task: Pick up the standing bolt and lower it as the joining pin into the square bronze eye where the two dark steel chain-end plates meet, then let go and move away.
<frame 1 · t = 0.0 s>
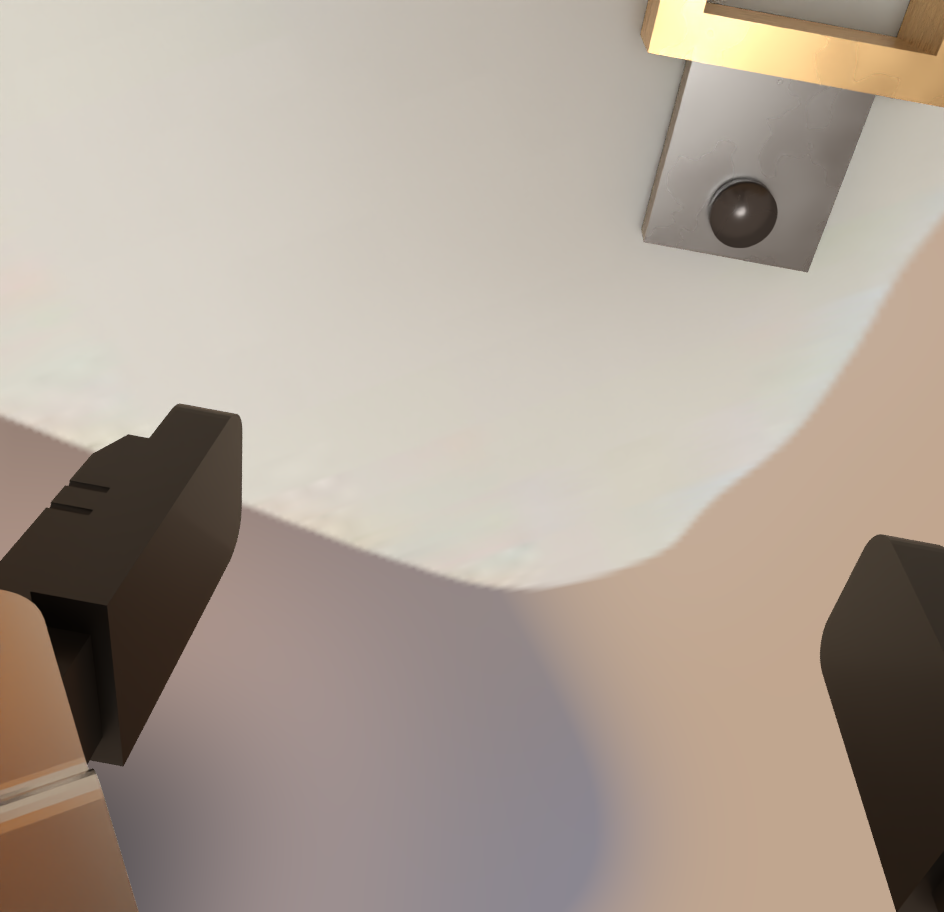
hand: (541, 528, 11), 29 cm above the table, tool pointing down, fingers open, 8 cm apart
chain link b: (750, 151, 36), on the table
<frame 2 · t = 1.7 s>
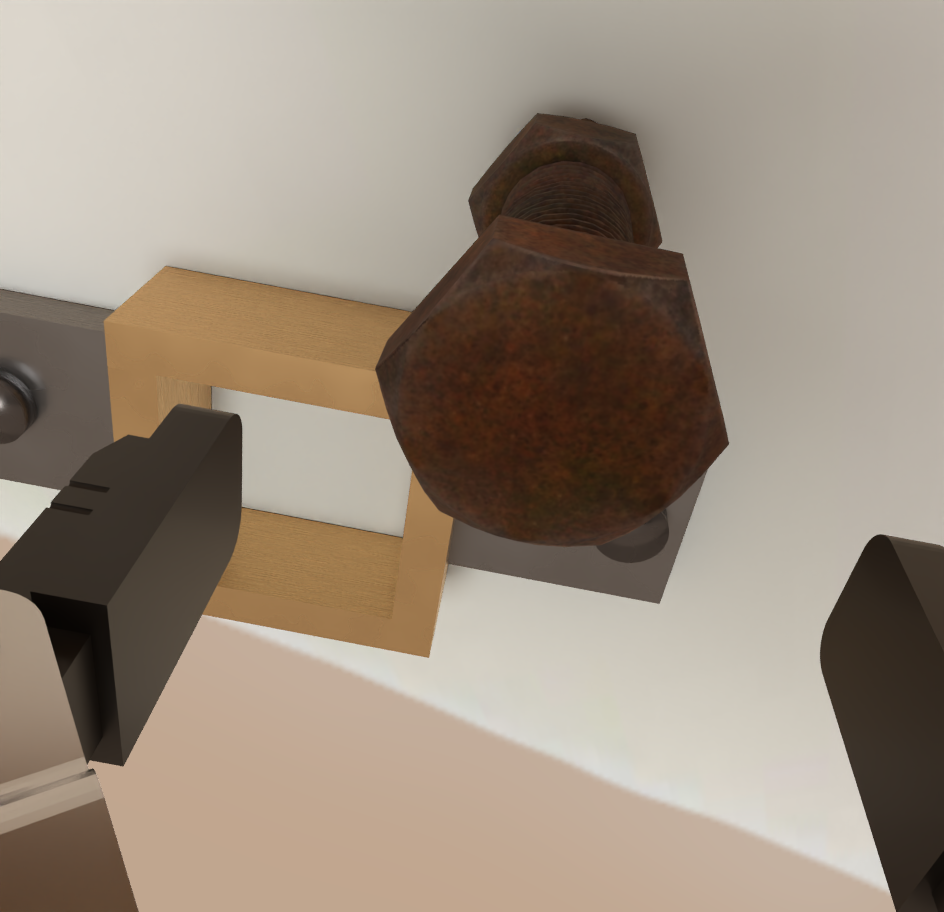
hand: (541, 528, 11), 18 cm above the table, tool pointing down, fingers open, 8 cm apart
chain link a: (560, 480, 32), on the table
link eye: (318, 435, 33), on the table
chain link b: (78, 389, 33), on the table
bolt: (569, 166, 27), on the table
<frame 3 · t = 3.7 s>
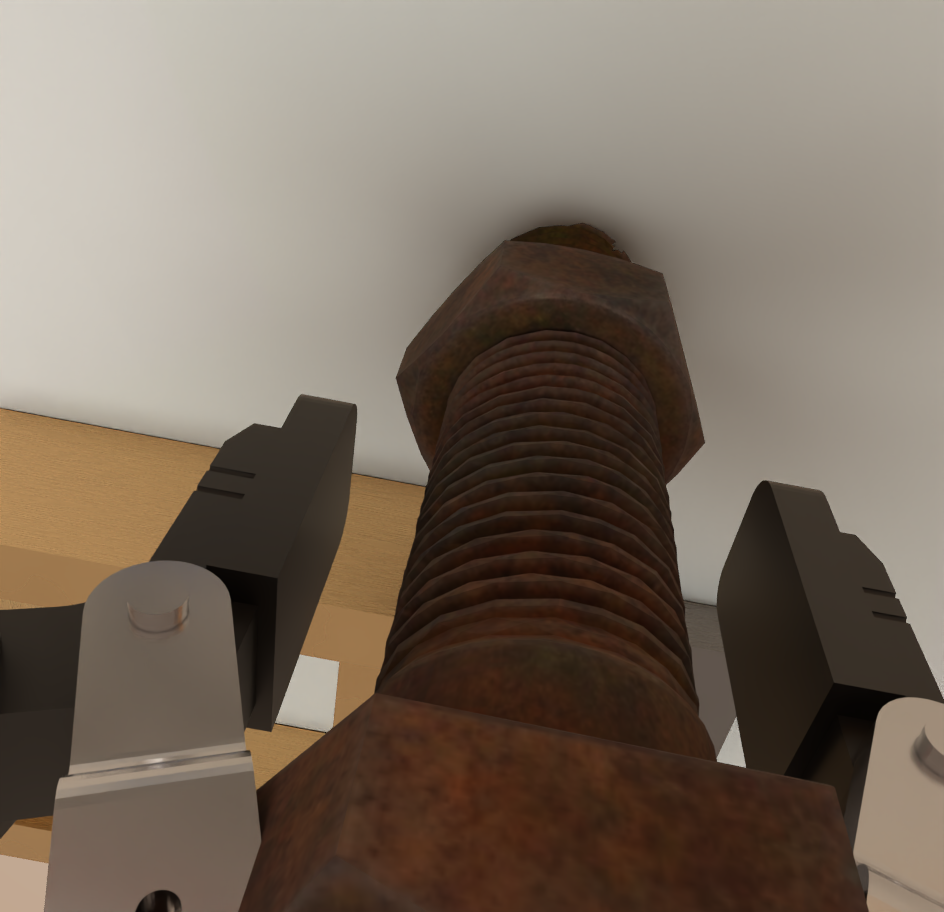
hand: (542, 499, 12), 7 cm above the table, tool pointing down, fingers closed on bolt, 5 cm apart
chain link a: (547, 676, 24), on the table
link eye: (222, 616, 24), on the table
bolt: (557, 284, 18), on the table, touching gripper
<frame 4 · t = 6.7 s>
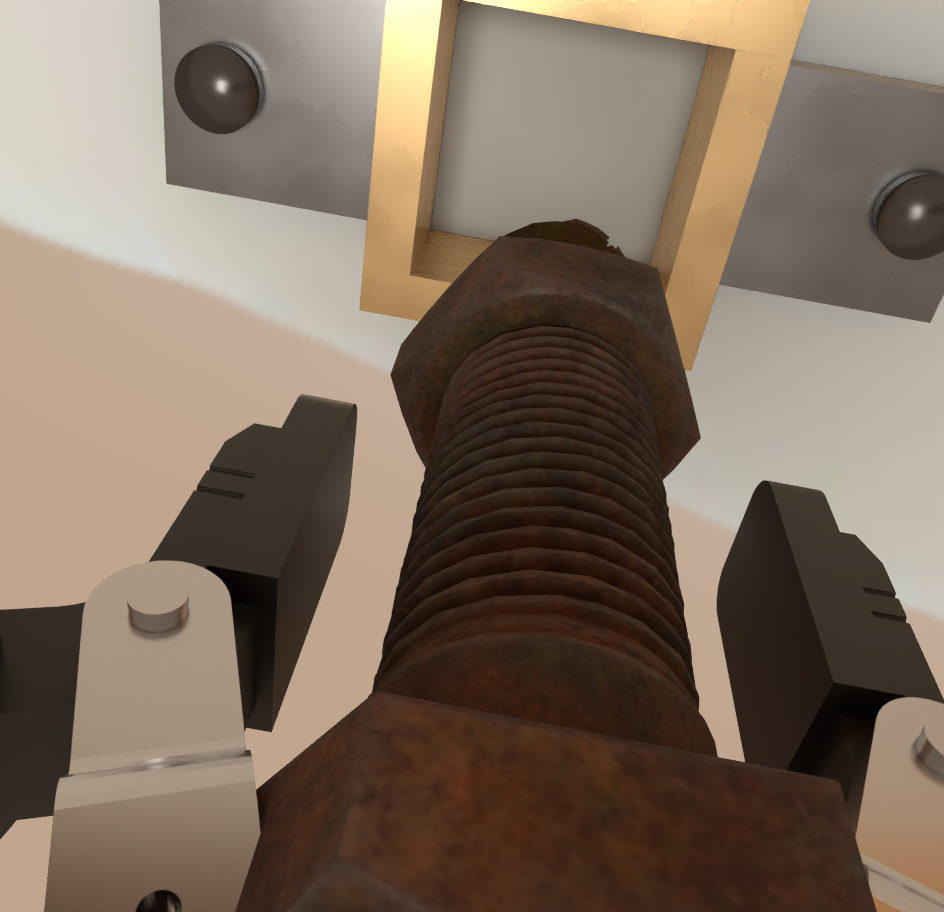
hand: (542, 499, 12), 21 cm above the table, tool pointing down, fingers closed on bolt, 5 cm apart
chain link a: (826, 184, 30), on the table
link eye: (561, 136, 30), on the table
chain link b: (298, 88, 30), on the table
bolt: (551, 281, 18), point 14 cm above the table, touching gripper
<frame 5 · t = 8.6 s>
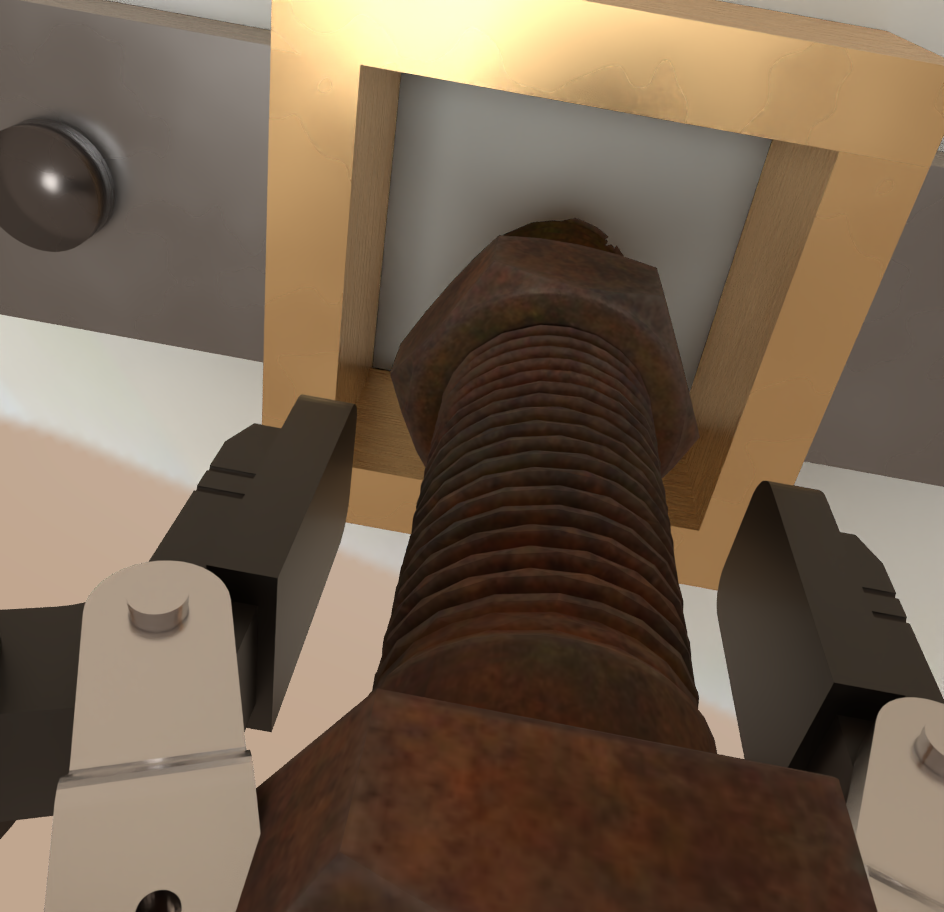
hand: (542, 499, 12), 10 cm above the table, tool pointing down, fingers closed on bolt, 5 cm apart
chain link a: (940, 316, 21), on the table
link eye: (556, 247, 21), on the table
chain link b: (174, 177, 21), on the table
bolt: (550, 280, 18), point 3 cm above the table, touching gripper
when the fingers open (8 cm above the table, at t = 10.0 s): bolt stays where it is, resting in link eye.
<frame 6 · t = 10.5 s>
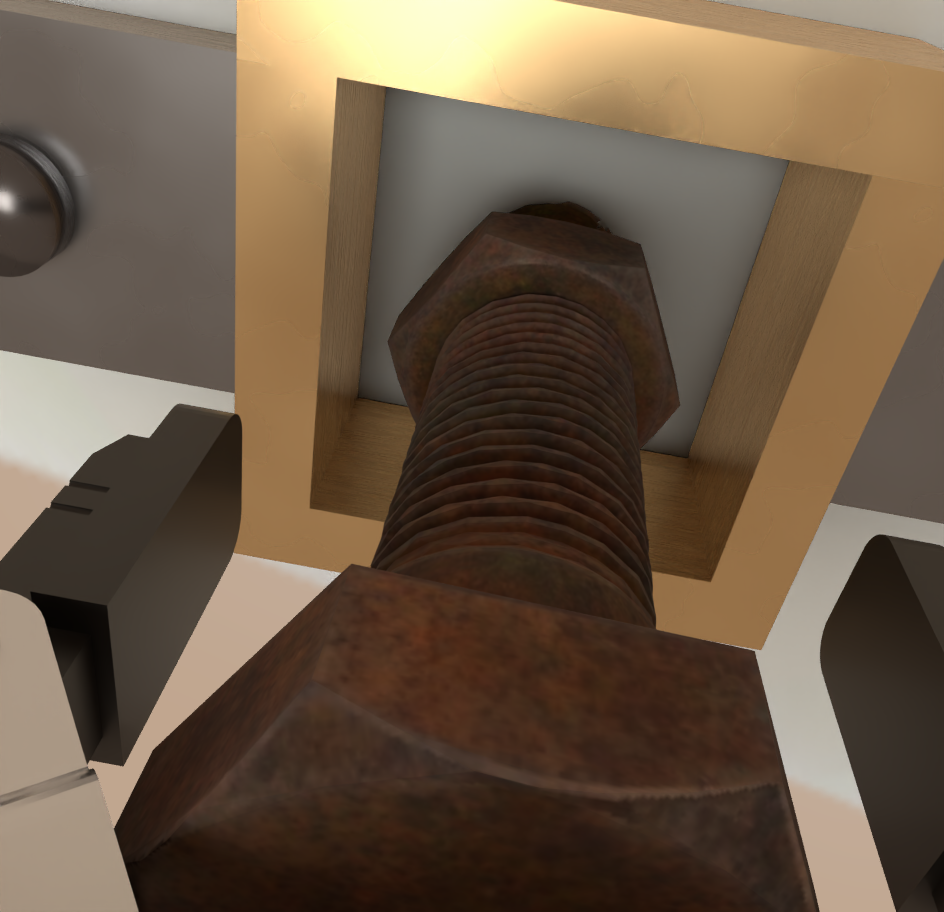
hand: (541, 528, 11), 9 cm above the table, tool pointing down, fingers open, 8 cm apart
link eye: (556, 270, 19), on the table
chain link b: (142, 194, 19), on the table
bolt: (546, 262, 19), resting in link eye
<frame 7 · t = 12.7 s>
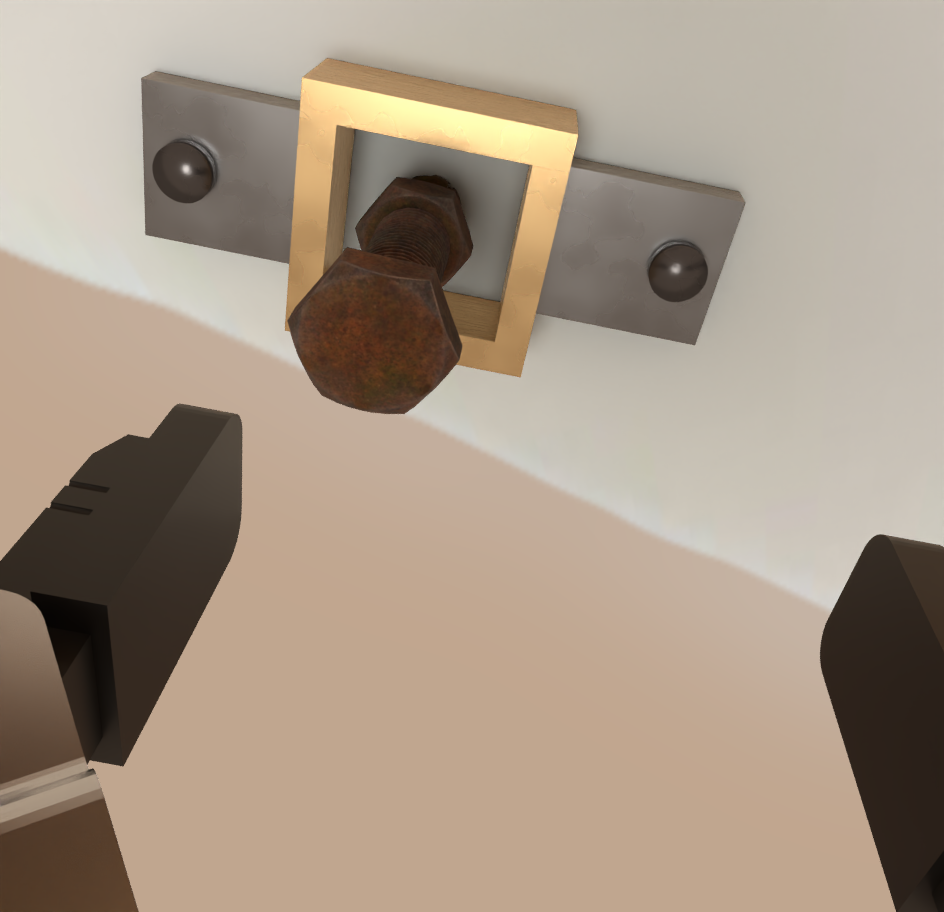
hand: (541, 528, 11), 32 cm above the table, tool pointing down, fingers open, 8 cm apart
chain link a: (620, 245, 42), on the table
link eye: (432, 207, 42), on the table
chain link b: (242, 168, 41), on the table
bolt: (428, 203, 42), resting in link eye
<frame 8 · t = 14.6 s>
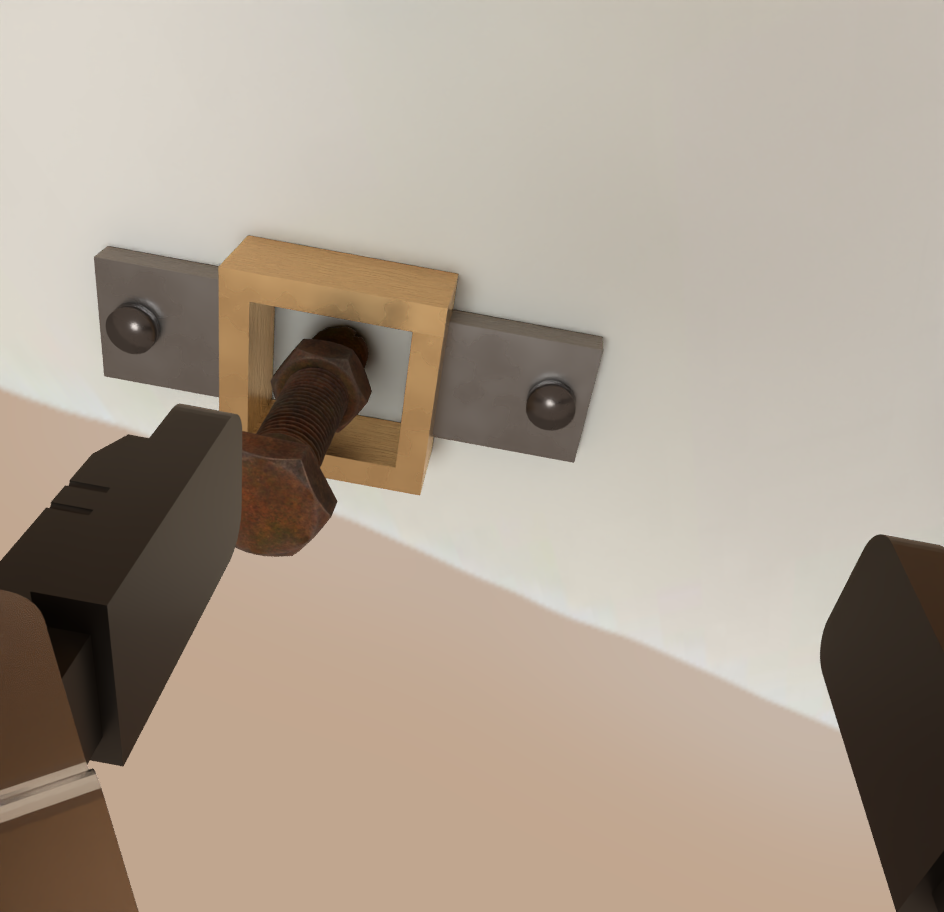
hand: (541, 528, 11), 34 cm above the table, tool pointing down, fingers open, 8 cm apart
chain link a: (506, 379, 49), on the table
link eye: (345, 349, 49), on the table
chain link b: (184, 320, 49), on the table
bolt: (342, 346, 49), resting in link eye
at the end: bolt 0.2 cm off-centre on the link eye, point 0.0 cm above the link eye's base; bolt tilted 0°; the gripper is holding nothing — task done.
